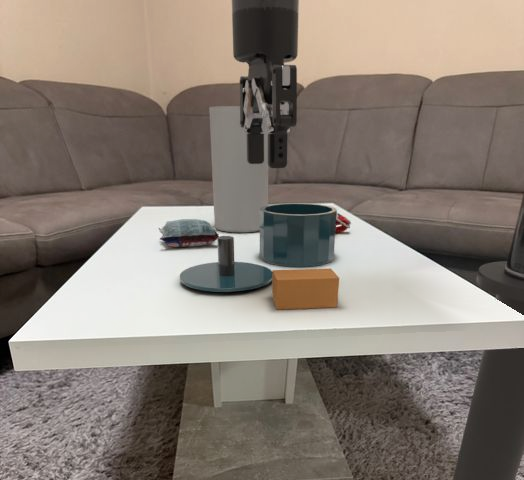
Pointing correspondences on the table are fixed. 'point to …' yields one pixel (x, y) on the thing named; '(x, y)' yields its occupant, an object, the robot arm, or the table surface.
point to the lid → (226, 272)
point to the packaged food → (188, 233)
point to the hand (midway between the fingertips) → (265, 165)
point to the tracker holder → (342, 223)
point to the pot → (297, 234)
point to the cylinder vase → (236, 173)
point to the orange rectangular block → (305, 288)
